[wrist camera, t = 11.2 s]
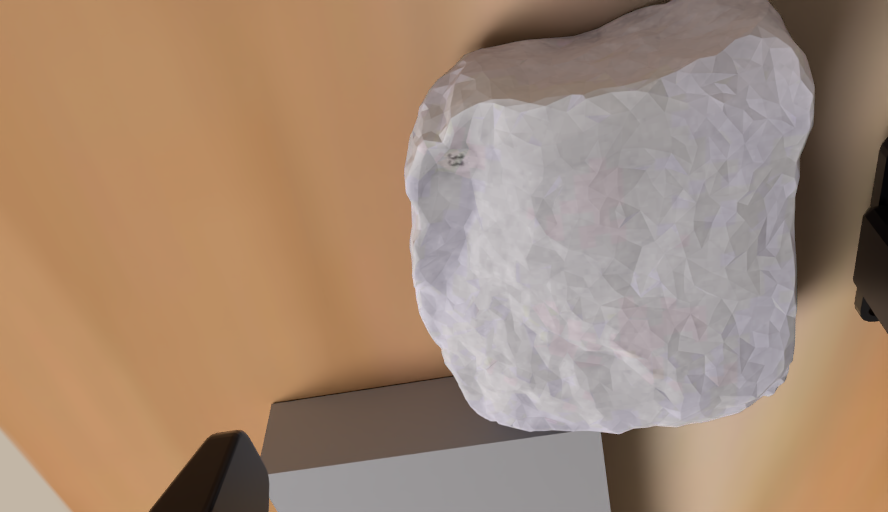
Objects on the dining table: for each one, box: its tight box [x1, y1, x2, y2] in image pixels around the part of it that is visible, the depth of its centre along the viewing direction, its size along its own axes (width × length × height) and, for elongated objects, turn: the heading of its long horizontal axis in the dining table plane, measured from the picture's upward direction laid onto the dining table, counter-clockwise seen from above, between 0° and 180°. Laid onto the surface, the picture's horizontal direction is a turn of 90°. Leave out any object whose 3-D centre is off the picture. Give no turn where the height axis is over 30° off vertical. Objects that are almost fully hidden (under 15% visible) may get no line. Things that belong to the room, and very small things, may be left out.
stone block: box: [404, 0, 815, 434], centre depth 21 cm, size 12×5×10 cm
